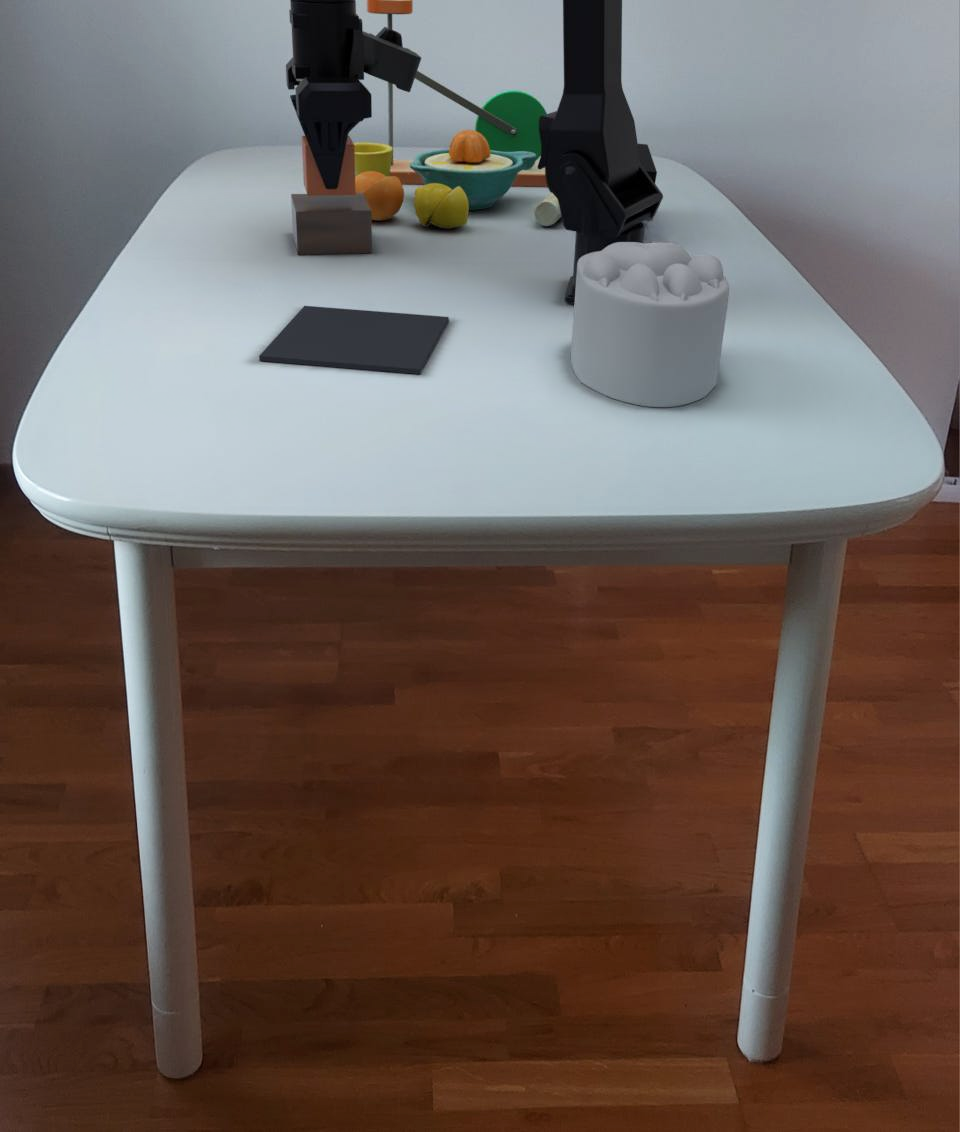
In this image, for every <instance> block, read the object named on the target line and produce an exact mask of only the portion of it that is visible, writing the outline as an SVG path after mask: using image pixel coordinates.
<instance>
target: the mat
mask: <svg viewBox="0 0 960 1132" xmlns="http://www.w3.org/2000/svg"><path fill="white" fill-rule="evenodd" d="M449 318H450V316H443V315H442V316H441V315H429V314H418V313H417V314H415V313H404V312H403V313H402V312H390V311H389V312H388V311H380V310H379V311H377V310H365V309H352V308H340V307H327V306H313V305H304V306H302V308H300V310H299V311H298V312H297V313H296V315H294V316H293V318H292V319H291V320H290V321H289V322H288V323H287V325H285V326H284V328H283V329H281V331H280V332H279V333H278V334H277V335H276V336H275V338H274V339H273V340H272V341H271V342H270V343H269V344H268V345H267V346H266V348H265V349H264V350H263V351H262V352H261V353H260V354H259V355H258V360H259V361H260V362H269V363H270V362H271V363H283V364H294V365H307V366H317V367H331V368H343V369H354V370H364V371H365V370H366V371H377V372H378V371H379V372H389V373H400V374H401V373H402V374H414V375H421V373H422V372H423V369H424V368H425V366H426V364H427V362H428V360H429V359H430V357H431V356H432V353H433V352H434V349H435V347H436V345H437V344H438V342H439V340H440V338H441V336H442V334H443V332H444V331H445V329H446V327H447V325H448V324H449V321H450V319H449Z"/></svg>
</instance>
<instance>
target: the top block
mask: <svg viewBox="0 0 960 1132" xmlns="http://www.w3.org/2000/svg"><path fill="white" fill-rule="evenodd" d="M353 143H354V142H353V140H352V139H351V136H350V135H348V138H347V142H346V147H345V152H344V158H343V163H342V168H341V173H340V179H339V184H338V188H337V189H326V187H325V185H324V182H323V180H322V177H321V175H320V172H319V170H318V167H317V165H316V162H315V160H314V157H313V155H312V152H311V150H310V147H309V145H308V142H307V140H306V137H305V135H302V136H301V151H302V155H301V156H302V174H303V175H302V176H303V187H304V189H305V192H306V193H305V194H307V195H308V196H315V195H355V194H356V190H355V146H354V144H353Z"/></svg>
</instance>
